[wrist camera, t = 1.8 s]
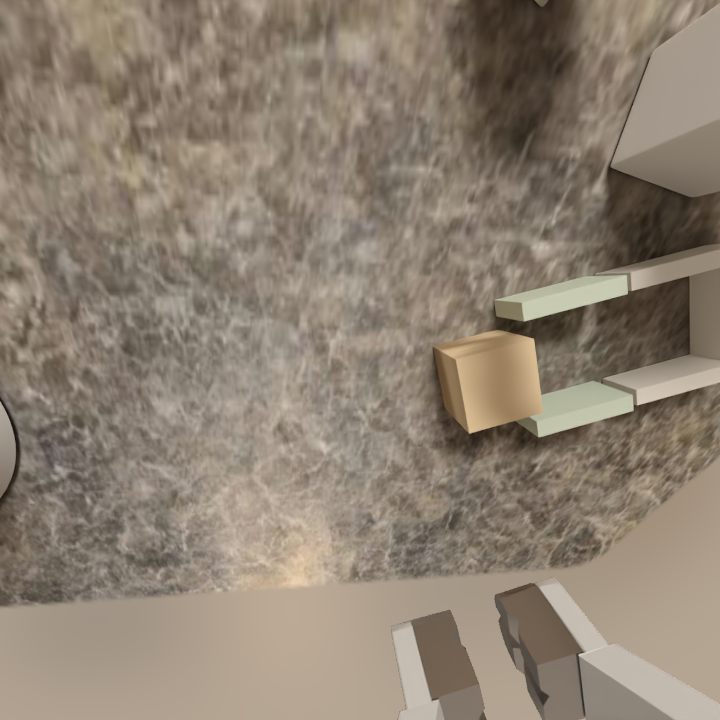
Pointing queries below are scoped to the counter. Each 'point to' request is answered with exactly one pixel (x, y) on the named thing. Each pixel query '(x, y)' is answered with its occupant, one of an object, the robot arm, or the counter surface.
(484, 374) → the maple block
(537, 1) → the skincare box
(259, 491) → the counter surface
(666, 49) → the milk carton
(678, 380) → the end bay
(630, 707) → the robot arm
